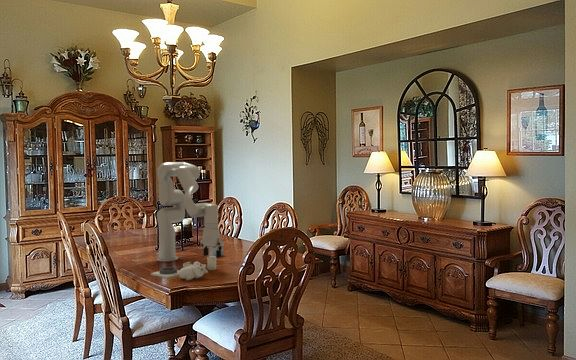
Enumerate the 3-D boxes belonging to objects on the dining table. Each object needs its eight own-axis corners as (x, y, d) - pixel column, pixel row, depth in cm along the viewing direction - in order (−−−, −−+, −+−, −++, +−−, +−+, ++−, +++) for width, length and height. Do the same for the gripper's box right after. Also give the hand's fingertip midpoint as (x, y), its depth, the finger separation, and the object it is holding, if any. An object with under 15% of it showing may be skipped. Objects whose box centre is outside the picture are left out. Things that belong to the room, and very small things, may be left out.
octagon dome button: (150, 274, 273) (150, 269, 273) (169, 270, 284) (169, 265, 284) (167, 278, 266) (167, 273, 266) (185, 273, 276) (185, 268, 276)
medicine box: (212, 257, 317) (212, 244, 317) (208, 256, 321) (208, 242, 320) (223, 256, 322) (223, 242, 321) (220, 255, 325) (219, 241, 325)
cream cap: (205, 269, 286) (205, 257, 285) (211, 267, 290) (211, 255, 290) (212, 270, 283) (211, 258, 283) (218, 268, 287) (218, 256, 287)
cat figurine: (177, 262, 261) (205, 256, 267) (175, 267, 268) (203, 261, 274) (181, 280, 257) (210, 273, 263) (179, 284, 264) (207, 278, 270)
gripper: (195, 225, 287) (196, 256, 288) (218, 227, 277) (219, 259, 278) (205, 224, 293) (205, 253, 294) (227, 226, 283) (228, 256, 284)
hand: (212, 256), depth 286 cm, fingers open, 9 cm apart
